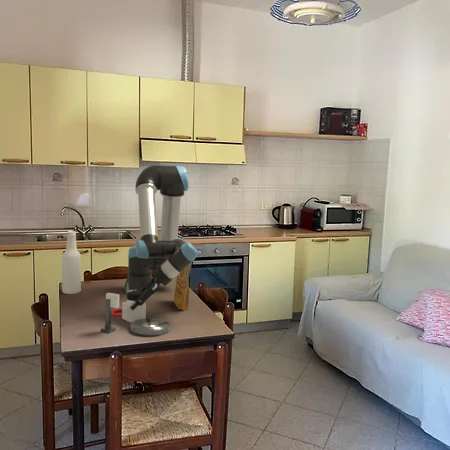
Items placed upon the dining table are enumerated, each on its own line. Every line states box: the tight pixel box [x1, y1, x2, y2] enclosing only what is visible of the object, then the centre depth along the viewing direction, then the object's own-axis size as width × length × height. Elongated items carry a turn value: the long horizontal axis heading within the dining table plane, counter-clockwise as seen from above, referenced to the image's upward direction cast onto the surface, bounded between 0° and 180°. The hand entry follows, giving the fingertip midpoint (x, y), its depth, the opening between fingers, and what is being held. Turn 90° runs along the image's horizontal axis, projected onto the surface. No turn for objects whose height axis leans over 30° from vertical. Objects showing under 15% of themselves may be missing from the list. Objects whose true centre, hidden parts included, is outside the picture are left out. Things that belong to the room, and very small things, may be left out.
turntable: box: [129, 317, 171, 337], centre depth 182 cm, size 15×15×2 cm
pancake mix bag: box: [173, 261, 194, 311], centre depth 213 cm, size 7×19×28 cm, turn 17°
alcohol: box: [61, 230, 82, 295], centre depth 227 cm, size 9×9×30 cm
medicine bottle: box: [121, 290, 147, 324], centre depth 192 cm, size 7×7×12 cm
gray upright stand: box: [100, 292, 120, 334], centre depth 177 cm, size 4×6×14 cm, turn 67°
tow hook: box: [111, 283, 129, 318], centre depth 199 cm, size 8×13×9 cm
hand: (126, 309), depth 192 cm, fingers closed on medicine bottle, 10 cm apart
